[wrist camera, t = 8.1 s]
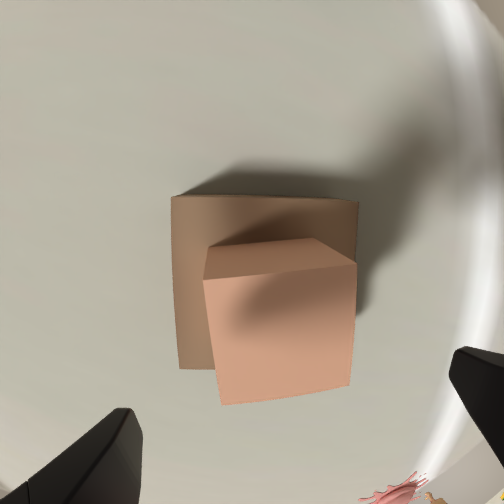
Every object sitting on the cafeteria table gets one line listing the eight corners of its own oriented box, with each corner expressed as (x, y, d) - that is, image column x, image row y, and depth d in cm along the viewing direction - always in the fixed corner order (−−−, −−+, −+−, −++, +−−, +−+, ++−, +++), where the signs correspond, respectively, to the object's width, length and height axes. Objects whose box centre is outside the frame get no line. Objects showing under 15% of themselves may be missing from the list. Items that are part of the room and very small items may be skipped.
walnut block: (330, 198, 18) (358, 202, 14) (319, 331, 20) (339, 361, 16) (181, 194, 17) (170, 197, 13) (185, 335, 19) (179, 369, 15)
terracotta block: (313, 237, 15) (357, 263, 10) (314, 330, 16) (349, 385, 11) (207, 247, 14) (202, 280, 9) (219, 342, 15) (221, 405, 10)
